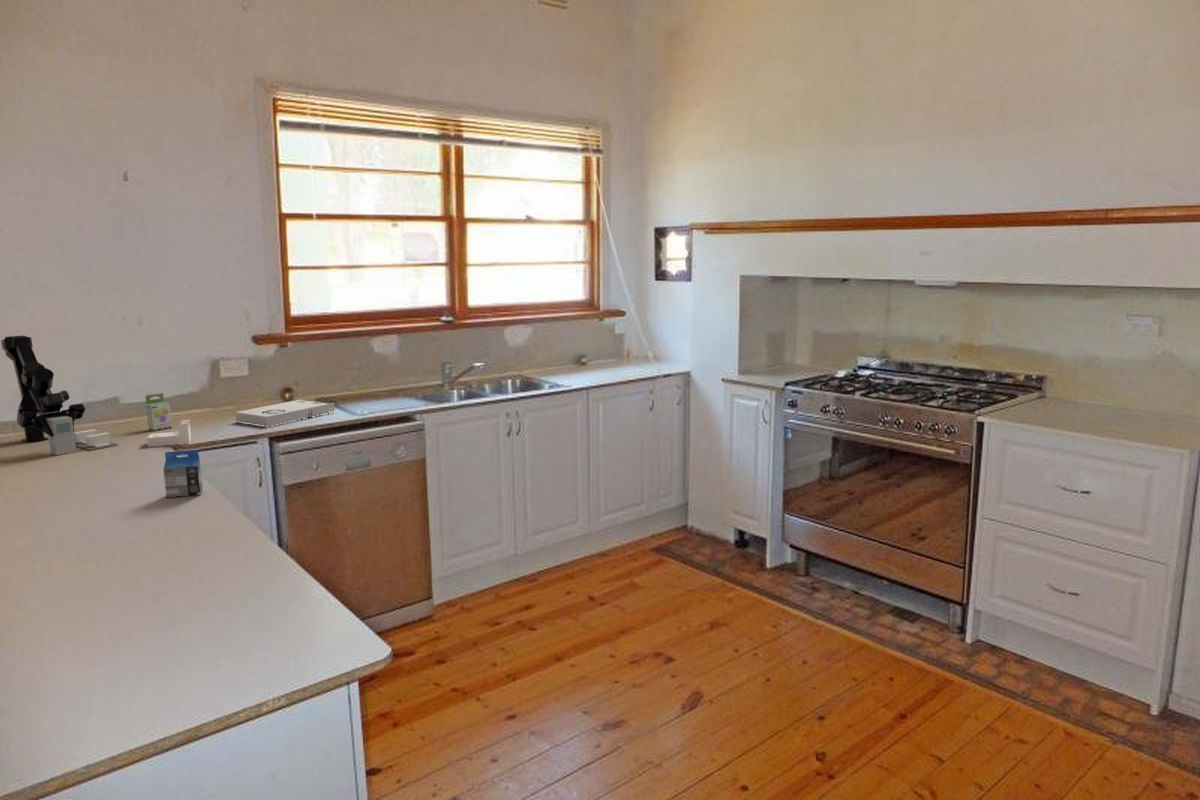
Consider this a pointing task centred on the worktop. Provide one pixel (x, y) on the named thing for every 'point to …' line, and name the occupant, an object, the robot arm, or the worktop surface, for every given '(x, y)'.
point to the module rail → (92, 440)
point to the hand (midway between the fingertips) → (63, 434)
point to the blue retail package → (182, 474)
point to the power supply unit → (291, 412)
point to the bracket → (171, 436)
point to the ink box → (158, 412)
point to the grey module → (61, 435)
